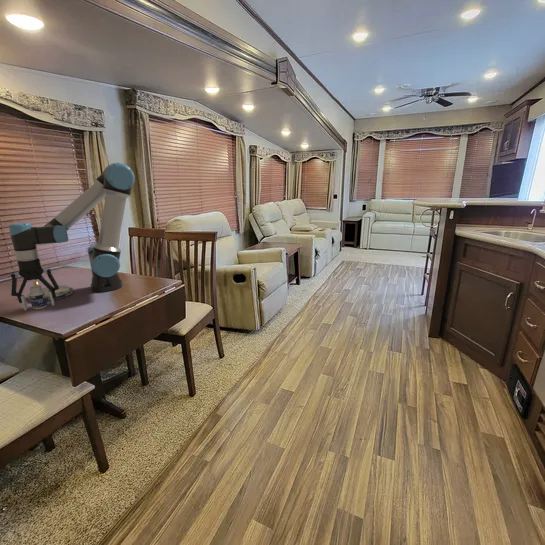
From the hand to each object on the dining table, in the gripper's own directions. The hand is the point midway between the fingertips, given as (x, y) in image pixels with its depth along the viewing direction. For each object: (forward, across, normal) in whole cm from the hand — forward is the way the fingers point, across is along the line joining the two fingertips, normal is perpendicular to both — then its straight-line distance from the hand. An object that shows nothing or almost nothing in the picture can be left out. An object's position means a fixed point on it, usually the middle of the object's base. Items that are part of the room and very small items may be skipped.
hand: (40, 306), depth 133 cm
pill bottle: (0, 0, 0) cm, 0 cm away
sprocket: (0, -3, -16) cm, 16 cm away
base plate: (0, -3, -16) cm, 16 cm away
